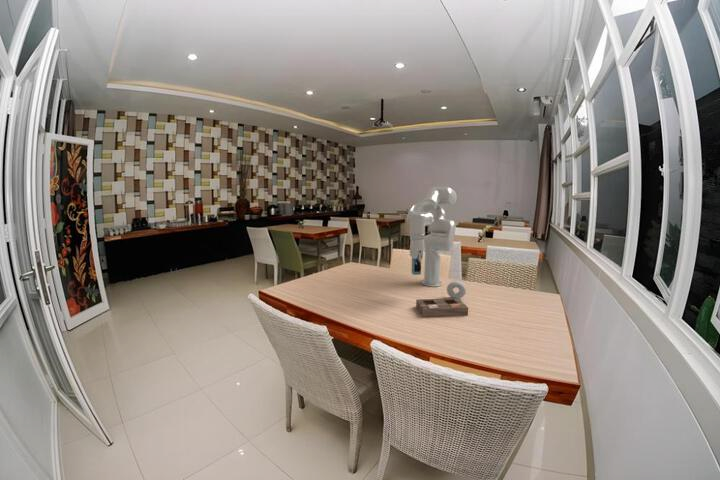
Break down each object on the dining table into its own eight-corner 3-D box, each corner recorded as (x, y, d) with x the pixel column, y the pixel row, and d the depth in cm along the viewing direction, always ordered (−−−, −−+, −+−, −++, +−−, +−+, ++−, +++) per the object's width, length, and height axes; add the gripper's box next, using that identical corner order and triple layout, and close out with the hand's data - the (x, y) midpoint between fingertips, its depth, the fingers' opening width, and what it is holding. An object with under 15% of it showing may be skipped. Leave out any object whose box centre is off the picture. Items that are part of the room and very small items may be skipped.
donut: (446, 298, 158) (447, 281, 157) (446, 296, 162) (447, 279, 160) (465, 301, 155) (466, 283, 153) (465, 298, 158) (466, 281, 156)
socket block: (416, 306, 147) (416, 299, 147) (457, 305, 149) (457, 297, 148) (423, 317, 136) (423, 308, 135) (467, 315, 137) (468, 306, 137)
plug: (411, 272, 156) (411, 258, 154) (418, 272, 156) (419, 258, 154) (413, 274, 152) (413, 260, 150) (420, 274, 152) (421, 260, 150)
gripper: (406, 234, 158) (405, 266, 161) (414, 239, 142) (413, 275, 145) (419, 234, 159) (418, 265, 162) (429, 239, 142) (428, 274, 145)
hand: (416, 269), depth 153 cm, fingers closed on plug, 4 cm apart
